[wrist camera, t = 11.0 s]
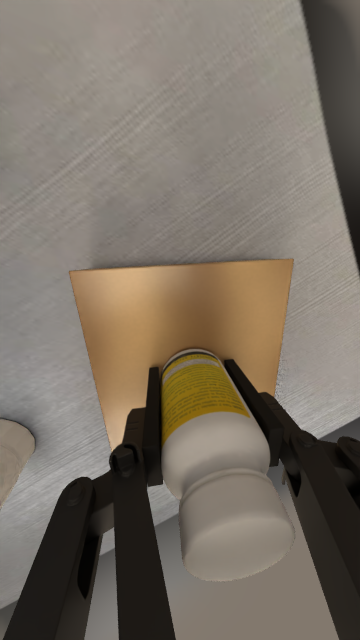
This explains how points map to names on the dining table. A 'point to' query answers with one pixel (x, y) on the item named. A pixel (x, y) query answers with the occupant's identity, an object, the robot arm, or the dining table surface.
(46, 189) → the dining table surface
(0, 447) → the white cup
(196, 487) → the supplement bottle
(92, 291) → the maple riser
